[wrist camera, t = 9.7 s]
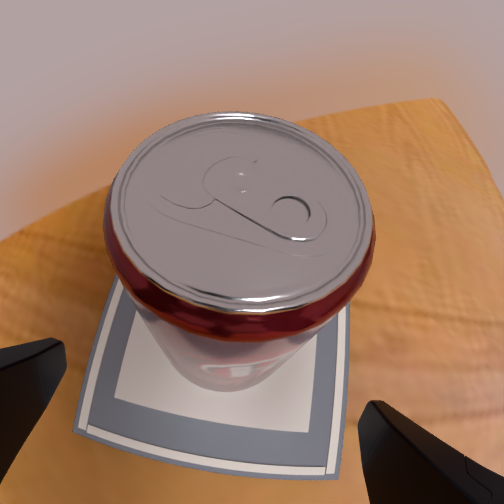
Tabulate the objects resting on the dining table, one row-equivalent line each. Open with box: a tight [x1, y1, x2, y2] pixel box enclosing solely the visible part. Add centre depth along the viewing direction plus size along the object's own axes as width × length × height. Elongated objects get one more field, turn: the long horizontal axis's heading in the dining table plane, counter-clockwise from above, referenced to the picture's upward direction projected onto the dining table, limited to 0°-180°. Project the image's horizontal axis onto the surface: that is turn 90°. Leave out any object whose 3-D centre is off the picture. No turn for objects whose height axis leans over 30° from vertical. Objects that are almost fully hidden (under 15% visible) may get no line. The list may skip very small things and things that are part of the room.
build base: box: [72, 274, 350, 480], centre depth 19 cm, size 18×18×4 cm
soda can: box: [103, 111, 376, 392], centre depth 12 cm, size 7×7×12 cm
